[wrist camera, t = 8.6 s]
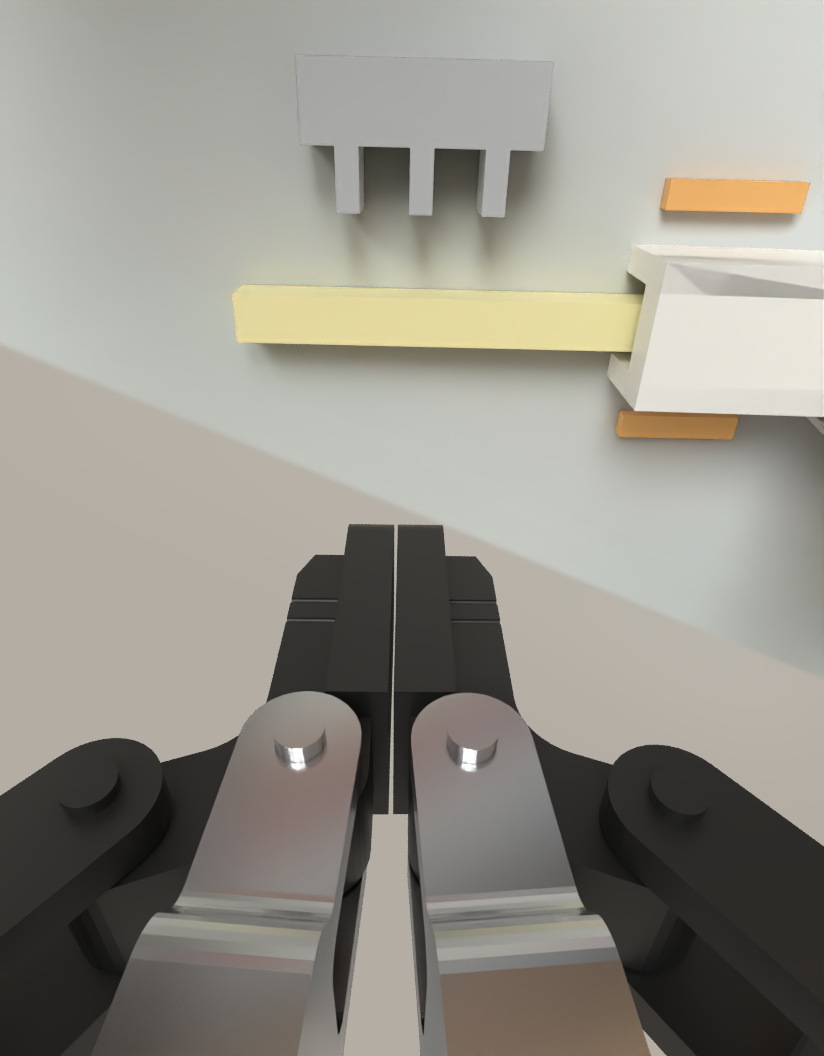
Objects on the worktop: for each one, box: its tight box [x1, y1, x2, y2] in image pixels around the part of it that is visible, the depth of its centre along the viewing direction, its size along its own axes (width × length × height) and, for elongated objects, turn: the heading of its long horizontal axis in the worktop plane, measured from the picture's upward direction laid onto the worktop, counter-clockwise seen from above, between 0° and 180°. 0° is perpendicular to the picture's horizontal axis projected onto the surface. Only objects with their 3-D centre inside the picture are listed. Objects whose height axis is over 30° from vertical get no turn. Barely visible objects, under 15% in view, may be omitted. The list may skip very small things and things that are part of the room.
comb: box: [295, 55, 554, 217], centre depth 22 cm, size 4×8×2 cm, turn 89°
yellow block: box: [232, 285, 644, 352], centre depth 26 cm, size 2×22×2 cm, turn 89°
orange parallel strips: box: [616, 178, 810, 440], centre depth 26 cm, size 10×5×1 cm, turn 179°
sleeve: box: [607, 244, 824, 417], centre depth 25 cm, size 5×8×4 cm, turn 88°
